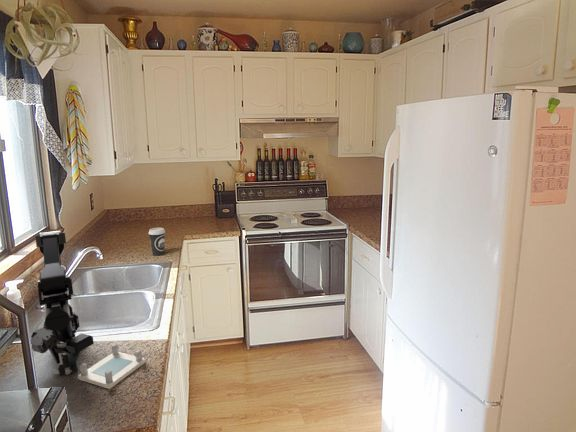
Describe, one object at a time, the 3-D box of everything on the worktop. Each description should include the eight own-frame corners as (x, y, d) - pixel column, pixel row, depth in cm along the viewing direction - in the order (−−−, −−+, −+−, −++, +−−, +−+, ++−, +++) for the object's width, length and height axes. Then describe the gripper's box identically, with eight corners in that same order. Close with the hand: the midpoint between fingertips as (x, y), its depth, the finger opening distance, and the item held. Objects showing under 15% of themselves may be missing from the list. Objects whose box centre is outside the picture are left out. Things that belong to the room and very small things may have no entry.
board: (78, 379, 114) (76, 366, 113) (115, 354, 127) (114, 342, 126) (109, 389, 110) (108, 375, 109) (145, 362, 122) (144, 350, 121)
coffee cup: (167, 251, 236) (165, 226, 233) (167, 255, 227) (165, 230, 224) (150, 252, 233) (148, 228, 230) (149, 257, 224) (147, 231, 221)
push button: (51, 380, 114) (46, 348, 112) (55, 370, 119) (50, 339, 117) (77, 374, 116) (72, 343, 114) (80, 365, 121) (75, 335, 119)
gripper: (8, 323, 110) (17, 373, 113) (56, 334, 103) (64, 388, 106) (46, 306, 120) (53, 353, 123) (91, 316, 113) (98, 365, 116)
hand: (66, 364), depth 117 cm, fingers closed on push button, 5 cm apart
